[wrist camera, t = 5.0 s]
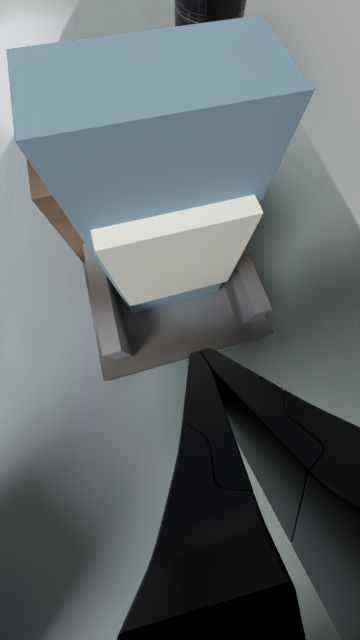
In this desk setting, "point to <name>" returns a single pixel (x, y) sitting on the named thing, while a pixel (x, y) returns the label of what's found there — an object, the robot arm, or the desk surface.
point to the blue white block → (160, 145)
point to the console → (160, 309)
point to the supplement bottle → (207, 11)
